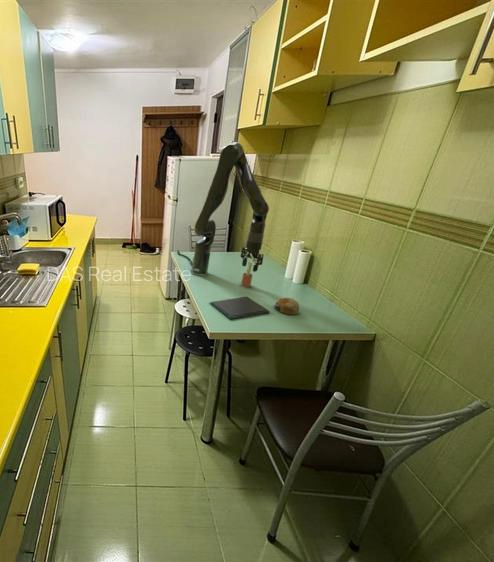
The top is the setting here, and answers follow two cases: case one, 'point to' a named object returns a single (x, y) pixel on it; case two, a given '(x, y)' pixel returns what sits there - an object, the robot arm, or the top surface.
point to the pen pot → (246, 280)
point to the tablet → (239, 308)
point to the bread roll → (287, 306)
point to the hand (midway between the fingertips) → (249, 268)
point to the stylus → (249, 269)
